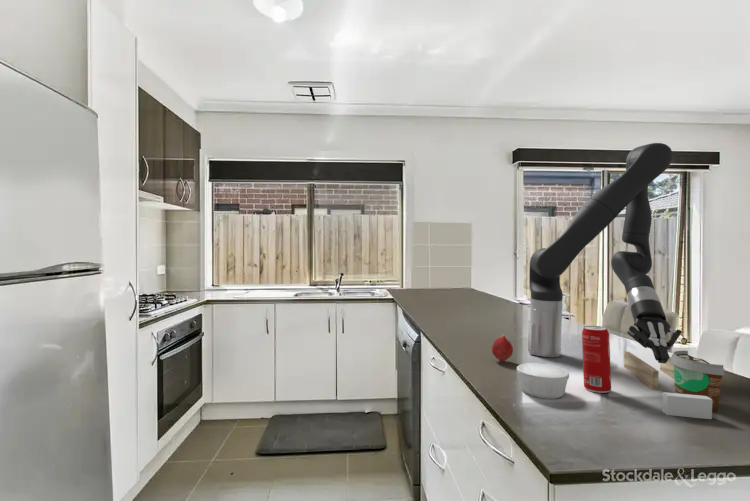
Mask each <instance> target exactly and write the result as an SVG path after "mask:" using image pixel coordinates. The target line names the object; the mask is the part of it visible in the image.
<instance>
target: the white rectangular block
mask: <svg viewBox="0 0 750 501" xmlns="http://www.w3.org/2000/svg"><path fill="white" fill-rule="evenodd" d="M661 410H662V413H664V414H665V415H666V416H673V417H674V416H675V417H683V418H684V417H685V418H686V417H687V418H695V419H703V420H704V419H705V420H712V417H713V410H712V399H711V398H709V397H707V396H700V395H689V394H678V393H675V392H666V391H663V392H662V408H661Z"/></svg>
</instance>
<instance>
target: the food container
mask: <svg viewBox="0 0 750 501" xmlns="http://www.w3.org/2000/svg"><path fill="white" fill-rule="evenodd" d="M670 357H671V360H670V362H671V363H672V364H674V379H673V380H674V393H678V394H689V395H700V396H707V397H709V398H711V399H712V411H719V405H720V404H719V403H720V394H721V388H722V381H723V376H725V368H724V365H723V364H714V363H710V362H708V361H707V360H705V359H702V358H697V357H694V356H692V355H689V351H688V350H676V351H674V352H673V354H672V355H671V356H670Z"/></svg>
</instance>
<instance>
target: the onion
mask: <svg viewBox="0 0 750 501" xmlns="http://www.w3.org/2000/svg"><path fill="white" fill-rule="evenodd" d="M513 348H514V347H513V344H512V342H510V341H509V340H508V338H506V335H505V334H501V336H500V337H498V338H496V339H495V340H494V342H493V343H492V346H491V352H492V355H493V356H494V357H495V358H496V359H497V360H498V361H499V362H501V363H505V361H507V360H508V359H510V358H511V357H512V354H513V352H514V349H513Z"/></svg>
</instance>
